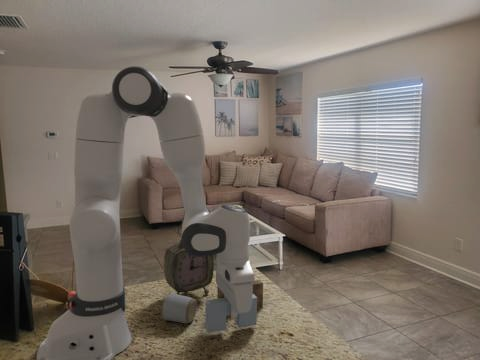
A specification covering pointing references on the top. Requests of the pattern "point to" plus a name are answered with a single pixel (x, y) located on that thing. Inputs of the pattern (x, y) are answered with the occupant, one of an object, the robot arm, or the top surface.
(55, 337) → the robot arm
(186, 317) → the ceramic mug
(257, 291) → the walnut board
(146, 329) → the top surface
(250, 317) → the slate board
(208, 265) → the tabletop clock
